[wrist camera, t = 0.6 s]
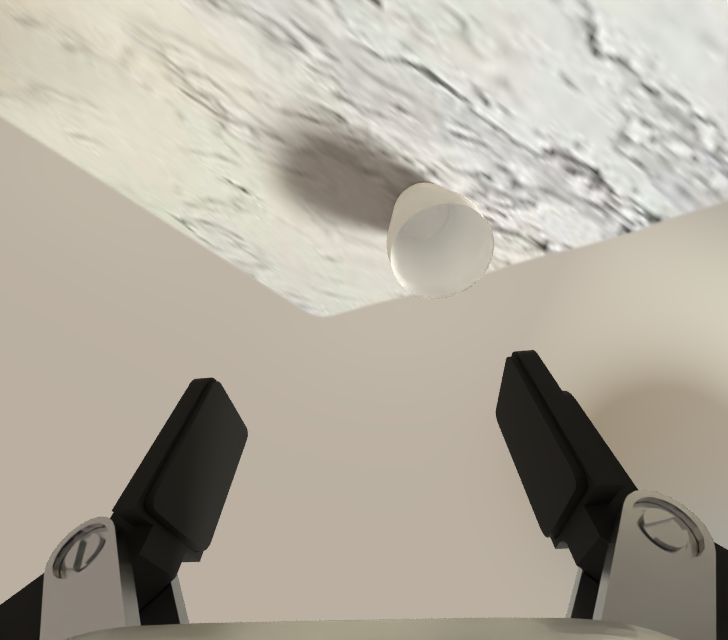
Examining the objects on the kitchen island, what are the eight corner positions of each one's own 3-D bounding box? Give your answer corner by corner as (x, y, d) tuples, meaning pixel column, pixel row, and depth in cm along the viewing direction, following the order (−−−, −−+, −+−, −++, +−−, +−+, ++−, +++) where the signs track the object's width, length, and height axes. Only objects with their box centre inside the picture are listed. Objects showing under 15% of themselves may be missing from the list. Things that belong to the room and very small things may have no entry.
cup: (373, 238, 38) (375, 287, 28) (396, 159, 33) (409, 186, 23) (441, 256, 39) (466, 309, 29) (474, 183, 34) (517, 218, 24)
